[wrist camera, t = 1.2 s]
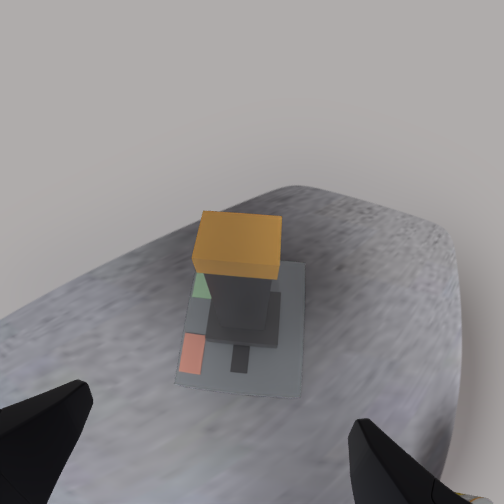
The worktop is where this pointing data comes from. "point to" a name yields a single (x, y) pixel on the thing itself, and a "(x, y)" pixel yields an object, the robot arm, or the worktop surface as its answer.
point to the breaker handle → (240, 276)
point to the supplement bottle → (475, 499)
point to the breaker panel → (246, 357)
